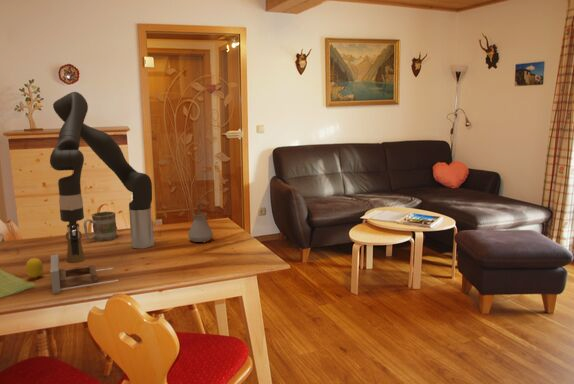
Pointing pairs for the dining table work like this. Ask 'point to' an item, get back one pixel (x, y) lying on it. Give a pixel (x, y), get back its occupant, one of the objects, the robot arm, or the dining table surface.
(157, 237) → the dining table surface
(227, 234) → the dining table surface
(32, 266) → the lemon
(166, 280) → the dining table surface
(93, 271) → the socket block
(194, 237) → the coffee pot
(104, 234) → the mug
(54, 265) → the backstop
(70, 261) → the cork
